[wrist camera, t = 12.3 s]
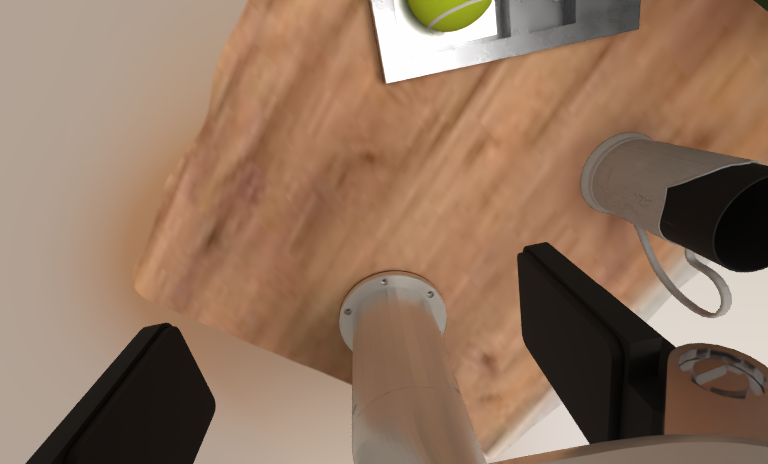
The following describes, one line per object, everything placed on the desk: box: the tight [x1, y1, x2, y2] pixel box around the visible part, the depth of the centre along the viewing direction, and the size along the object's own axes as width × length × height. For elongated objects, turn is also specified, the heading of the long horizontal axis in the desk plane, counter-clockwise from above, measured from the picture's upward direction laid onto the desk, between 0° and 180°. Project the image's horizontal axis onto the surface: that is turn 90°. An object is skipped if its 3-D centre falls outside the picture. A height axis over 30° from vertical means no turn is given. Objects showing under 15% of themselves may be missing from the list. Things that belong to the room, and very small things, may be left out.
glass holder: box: [580, 132, 768, 318], centre depth 33 cm, size 9×14×15 cm, turn 9°
